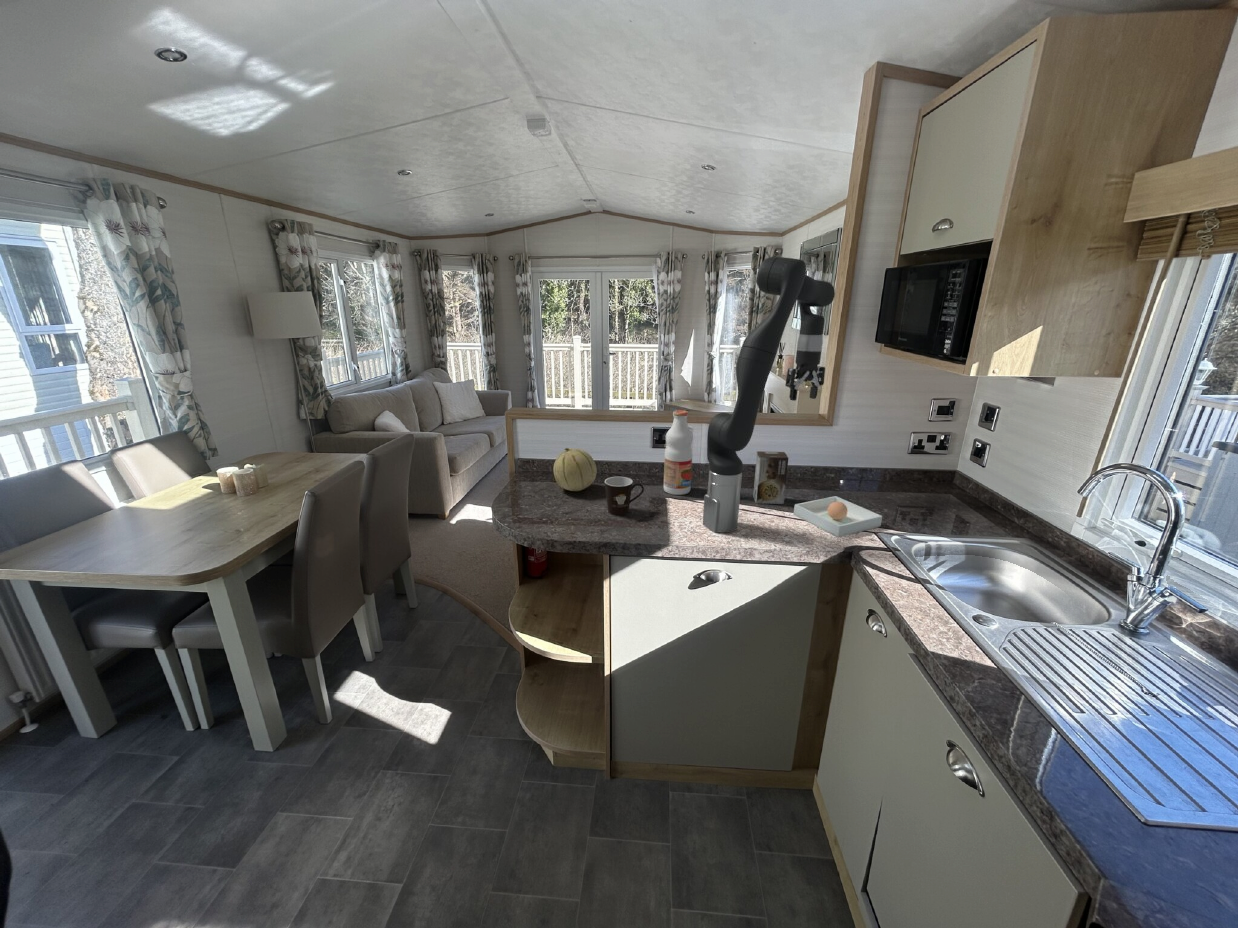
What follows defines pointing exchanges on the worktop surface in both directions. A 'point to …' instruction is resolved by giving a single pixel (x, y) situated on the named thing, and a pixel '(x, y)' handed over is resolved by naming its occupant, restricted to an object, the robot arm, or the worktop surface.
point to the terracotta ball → (837, 510)
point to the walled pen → (851, 524)
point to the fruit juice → (678, 456)
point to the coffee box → (770, 477)
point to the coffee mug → (619, 494)
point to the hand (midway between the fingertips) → (802, 399)
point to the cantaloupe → (574, 469)
